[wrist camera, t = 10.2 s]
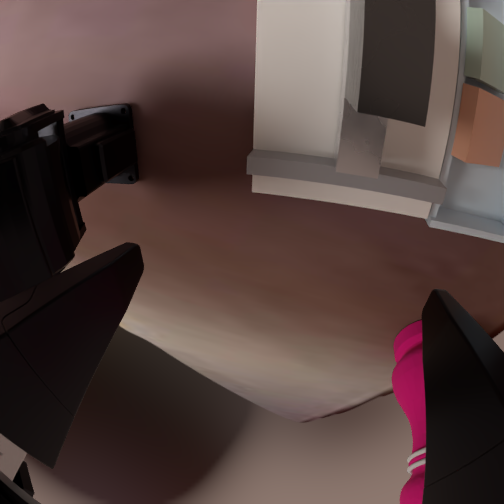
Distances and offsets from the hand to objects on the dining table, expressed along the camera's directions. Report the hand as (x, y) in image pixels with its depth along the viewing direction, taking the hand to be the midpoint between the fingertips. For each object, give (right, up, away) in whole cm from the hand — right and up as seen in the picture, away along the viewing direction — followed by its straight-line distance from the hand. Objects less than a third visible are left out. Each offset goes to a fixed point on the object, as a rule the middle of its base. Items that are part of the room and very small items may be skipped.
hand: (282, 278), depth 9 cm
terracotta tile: (+13, +8, +5) cm, 16 cm away
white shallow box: (+5, +13, +6) cm, 15 cm away
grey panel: (+5, +11, +3) cm, 12 cm away
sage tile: (+13, +13, +2) cm, 18 cm away
